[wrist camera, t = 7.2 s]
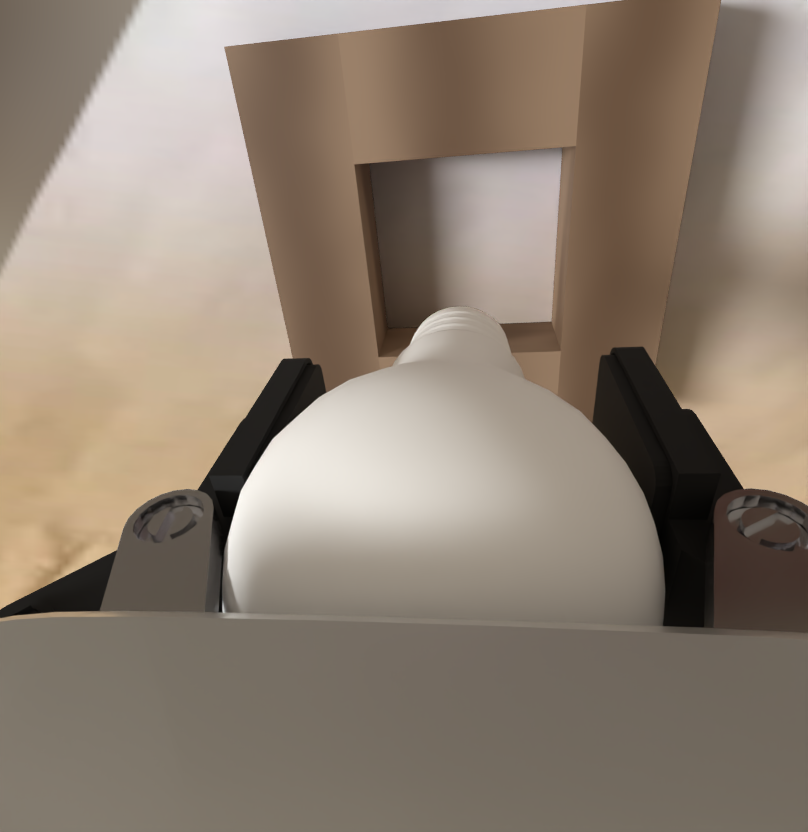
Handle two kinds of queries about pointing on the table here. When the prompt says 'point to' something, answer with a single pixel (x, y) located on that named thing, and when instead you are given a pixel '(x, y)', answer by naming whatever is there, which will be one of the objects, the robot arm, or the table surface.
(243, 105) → the socket block
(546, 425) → the lightbulb
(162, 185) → the table surface
